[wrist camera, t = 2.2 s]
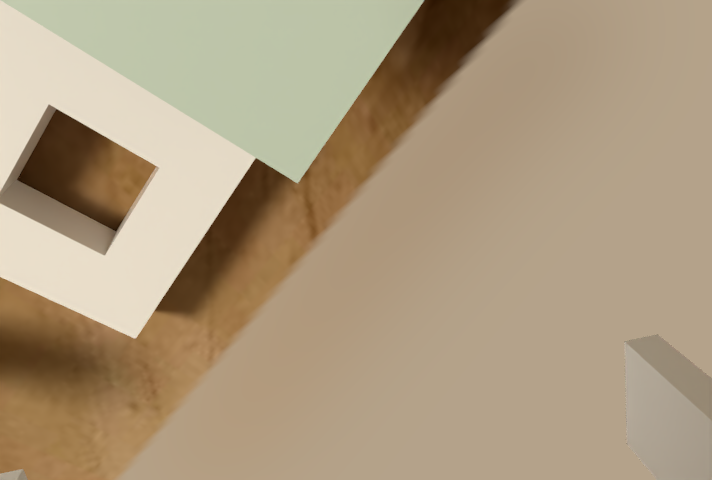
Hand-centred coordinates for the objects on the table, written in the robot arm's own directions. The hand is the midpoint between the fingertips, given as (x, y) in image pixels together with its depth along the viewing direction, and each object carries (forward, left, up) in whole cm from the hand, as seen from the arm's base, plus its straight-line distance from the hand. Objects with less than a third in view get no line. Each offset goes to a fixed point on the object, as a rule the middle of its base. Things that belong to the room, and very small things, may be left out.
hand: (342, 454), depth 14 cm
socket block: (-8, -5, -21) cm, 23 cm away
